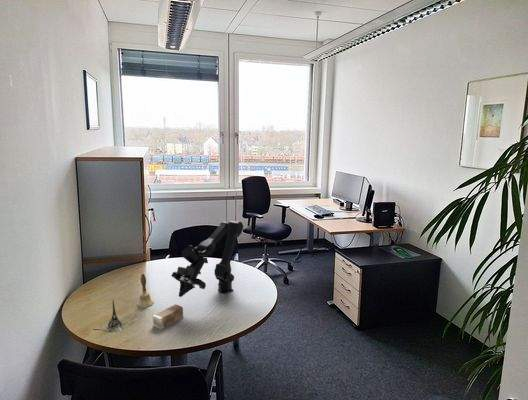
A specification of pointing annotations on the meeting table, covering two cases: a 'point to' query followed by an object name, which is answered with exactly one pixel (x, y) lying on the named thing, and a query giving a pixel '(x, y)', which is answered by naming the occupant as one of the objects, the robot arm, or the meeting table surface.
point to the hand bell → (144, 295)
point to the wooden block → (167, 316)
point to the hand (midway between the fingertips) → (179, 296)
